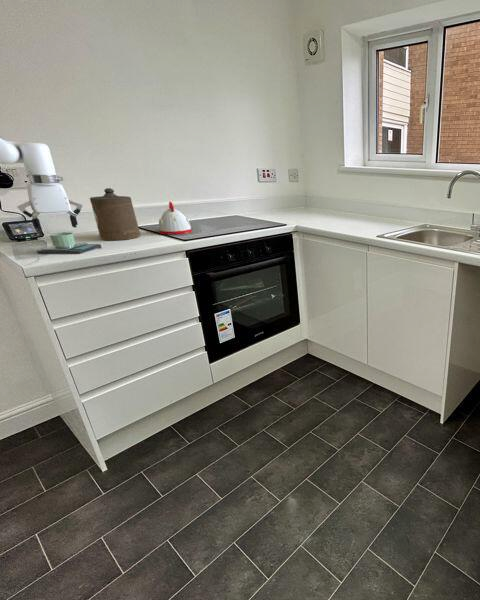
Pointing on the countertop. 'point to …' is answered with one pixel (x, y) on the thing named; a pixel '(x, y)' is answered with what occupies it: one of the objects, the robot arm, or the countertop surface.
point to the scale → (70, 249)
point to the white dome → (173, 222)
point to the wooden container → (115, 216)
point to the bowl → (63, 239)
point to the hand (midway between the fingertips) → (57, 228)
